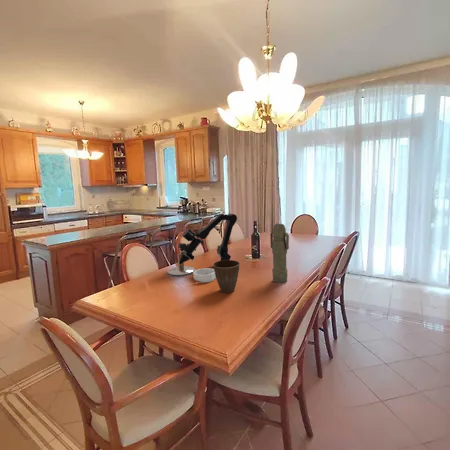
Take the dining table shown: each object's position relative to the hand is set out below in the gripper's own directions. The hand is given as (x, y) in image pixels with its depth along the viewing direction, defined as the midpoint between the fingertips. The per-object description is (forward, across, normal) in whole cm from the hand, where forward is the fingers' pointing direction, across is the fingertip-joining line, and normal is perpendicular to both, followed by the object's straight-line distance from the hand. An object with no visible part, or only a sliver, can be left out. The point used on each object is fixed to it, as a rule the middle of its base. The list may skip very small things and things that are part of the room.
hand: (178, 263), depth 196 cm
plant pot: (-6, +44, +18) cm, 48 cm away
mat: (+5, 0, +6) cm, 8 cm away
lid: (+3, 0, +5) cm, 6 cm away
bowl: (-3, +19, +14) cm, 24 cm away
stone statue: (-31, +45, +43) cm, 69 cm away
